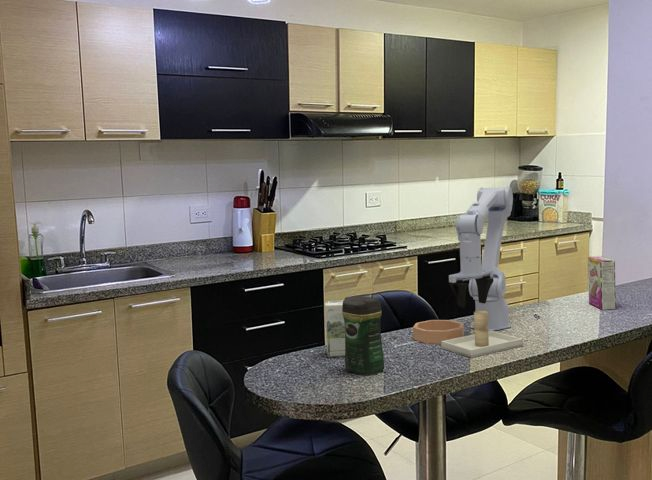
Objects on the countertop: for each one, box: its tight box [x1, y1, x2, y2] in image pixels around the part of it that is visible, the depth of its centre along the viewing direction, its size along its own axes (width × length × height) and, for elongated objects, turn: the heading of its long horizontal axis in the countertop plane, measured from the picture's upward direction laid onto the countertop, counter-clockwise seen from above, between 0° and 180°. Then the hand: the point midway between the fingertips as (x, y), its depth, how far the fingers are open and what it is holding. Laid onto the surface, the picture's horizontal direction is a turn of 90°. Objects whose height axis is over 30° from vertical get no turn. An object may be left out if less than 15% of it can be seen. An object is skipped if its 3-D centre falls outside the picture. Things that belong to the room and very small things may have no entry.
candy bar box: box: [587, 255, 617, 311], centre depth 215 cm, size 11×5×16 cm, turn 179°
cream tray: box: [441, 330, 524, 359], centre depth 174 cm, size 18×12×2 cm, turn 118°
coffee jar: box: [342, 295, 385, 376], centre depth 158 cm, size 10×8×19 cm
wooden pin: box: [473, 310, 489, 347], centre depth 174 cm, size 4×4×9 cm
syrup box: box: [324, 299, 345, 358], centre depth 174 cm, size 6×6×14 cm
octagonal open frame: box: [412, 319, 465, 345], centre depth 187 cm, size 14×14×4 cm
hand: (472, 304), depth 182 cm, fingers open, 7 cm apart
